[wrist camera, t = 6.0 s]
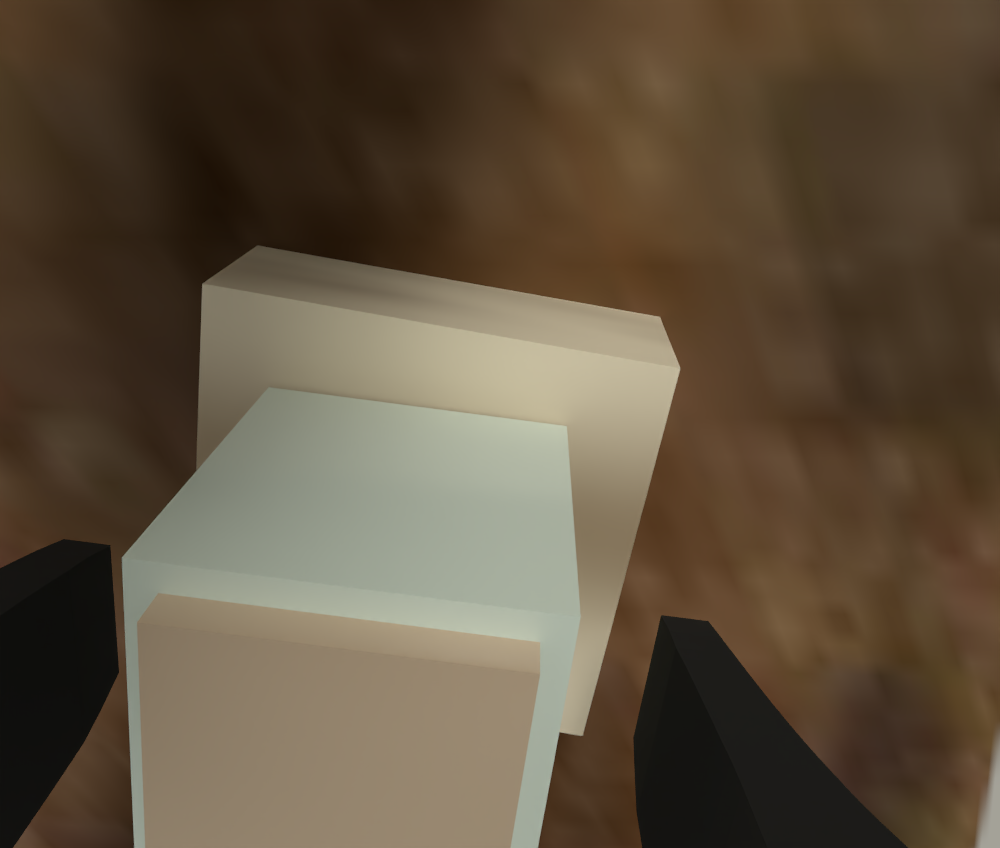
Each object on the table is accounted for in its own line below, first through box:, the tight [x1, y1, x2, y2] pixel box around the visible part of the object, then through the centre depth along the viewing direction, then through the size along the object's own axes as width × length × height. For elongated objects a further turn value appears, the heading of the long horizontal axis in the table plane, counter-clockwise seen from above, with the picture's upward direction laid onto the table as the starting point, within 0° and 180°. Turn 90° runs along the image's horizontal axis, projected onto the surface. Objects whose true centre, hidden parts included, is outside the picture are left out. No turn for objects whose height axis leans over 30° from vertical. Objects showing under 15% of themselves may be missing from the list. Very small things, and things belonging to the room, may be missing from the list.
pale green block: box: [122, 387, 581, 848], centre depth 12 cm, size 4×4×6 cm
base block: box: [196, 245, 680, 736], centre depth 16 cm, size 7×7×3 cm
